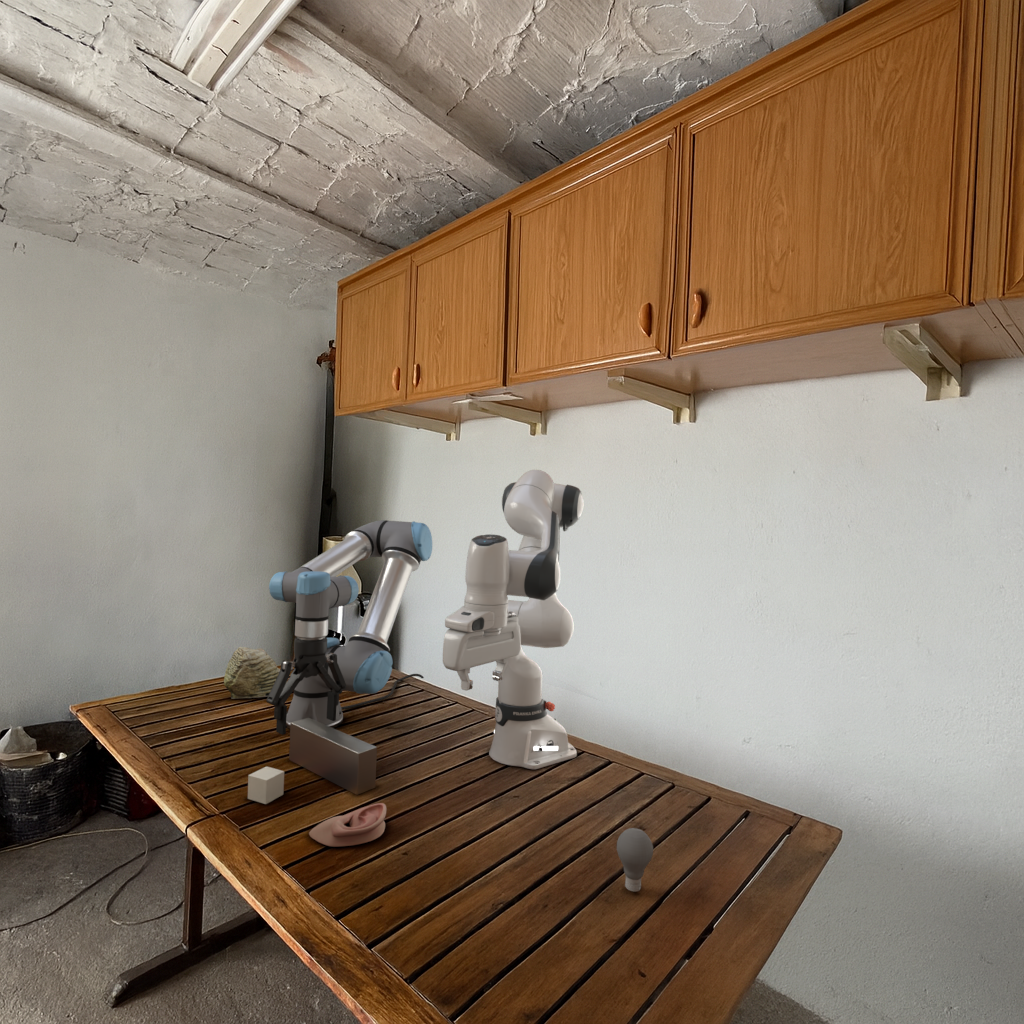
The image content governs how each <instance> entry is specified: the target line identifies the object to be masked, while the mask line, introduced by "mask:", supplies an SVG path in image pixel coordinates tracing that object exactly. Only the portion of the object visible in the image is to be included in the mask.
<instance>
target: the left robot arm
mask: <svg viewBox="0 0 1024 1024" xmlns="http://www.w3.org/2000/svg"><path fill="white" fill-rule="evenodd" d="M432 553H433V535H432V532H431V529H430V527H429V526H428V525H427V524H426V523H424V522H417V521H414V520H413V521H401V520H387V519H382V520H376V521H371V522H368V523H366V524H364V525H361V526H359V527H357V528H355V529H353V530H351V531H350V532H348V533H347V534H346V535H345V536H344V538H343V540H342V541H340V542H338V543H336V544H335V545H334V546H332V547H330V548H328V549H327V550H325V551H324V552H321V554H319V555H317V556H316V557H314V558H313V559H311V560H308V562H306V563H304V564H303V565H302V566H300V567H297V568H296V569H295V570H293V571H290V572H288V571H278V572H276V573H274V574H273V576H272V577H271V578H270V581H269V585H268V590H269V595H270V596H271V598H272V599H274V600H275V601H279V602H283V603H296V604H295V622H294V636H295V638H294V641H293V654H294V655H293V656H294V658H293V660H290V661H289V660H288V661H287V660H282V661H281V663H280V668H279V669H280V672H279V674H278V676H277V678H276V681H275V683H274V685H273V687H272V689H271V691H270V694H269V696H268V697H267V698H266V700H265V701H266V703H267V704H269V705H271V706H274V708H273V709H274V711H273V718H274V720H276V726H275V727H276V728H275V730H276V731H275V732H276V733H277V734H280V735H282V736H283V735H284V736H285V735H286V733H287V729H289V730H290V723H291V722H295V721H298V720H302V719H305V718H311V719H313V720H315V721H318V722H320V723H322V724H325V725H327V726H329V727H332V728H334V729H336V728H337V727H339V726H340V725H342V723H343V722H344V714H343V710H348V709H353V708H357V707H361V706H365V705H368V704H371V703H375V702H379V701H383V700H385V699H387V698H390V697H391V696H392V695H393V694H394V693H395V692H394V691H395V689H396V687H397V684H398V683H399V682H403V681H404V680H406V679H409V678H412V677H419V678H420V679H424V678H425V677H424V676H423V675H422V674H421V673H411V674H408V675H405V676H403V677H400V678H398V679H396V680H395V681H394V683H393V686H392V687H391V690H390V692H389V693H388V694H386V695H383V696H380V697H377V698H373V699H370V700H366V701H361V702H358V703H355V704H350V705H343V706H341V702H340V695H341V694H342V693H343V691H345V692H351V693H357V694H359V695H363V694H366V695H367V694H368V695H373V694H377V693H379V692H380V691H381V690H382V689H383V688H384V687H385V686H386V685H387V684H388V681H389V680H390V677H391V675H392V671H393V664H394V663H393V656H392V655H391V653H390V651H391V648H390V646H389V644H388V641H389V637H390V635H391V632H392V629H393V627H394V623H395V621H396V617H397V614H398V612H399V609H400V607H401V604H402V601H403V598H404V595H405V592H406V590H407V586H408V584H409V582H410V578H411V576H412V572H413V573H414V572H415V571H417V570H418V569H419V568H420V564H421V562H426V561H428V560H430V558H431V556H432ZM369 558H370V559H371V558H381V559H382V561H383V565H382V568H381V571H380V573H379V576H378V579H377V581H376V584H375V586H374V589H373V591H372V594H371V596H370V600H369V602H368V605H367V607H366V610H365V612H364V615H363V617H362V621H361V623H360V626H359V628H358V631H357V633H355V634H353V635H351V636H350V637H349V638H348V641H347V643H346V645H340V644H341V641H340V639H339V638H337V637H328V636H329V635H328V634H329V612H330V609H334V608H339V607H345V606H347V605H349V604H353V602H354V601H356V600H357V598H358V596H359V593H360V592H359V591H360V590H359V584H358V582H357V581H356V579H355V578H353V577H352V576H350V575H340V574H341V573H343V572H344V571H346V570H347V569H349V568H350V567H352V566H353V565H355V564H356V563H357V562H364V561H366V560H367V559H369ZM291 671H292V672H291ZM286 682H287V683H286ZM292 693H293V695H292ZM291 695H292V696H293V697H292V699H291V702H290V704H289V708H288V705H286V702H287V701H288V699H289V698H290V697H291Z"/></svg>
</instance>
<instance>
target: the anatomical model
mask: <svg viewBox="0 0 1024 1024" xmlns="http://www.w3.org/2000/svg"><path fill="white" fill-rule="evenodd" d="M386 816H387V805H386V804H385V803H383V802H378V803H373V804H370V805H368V806H364V807H360V808H358V809H355V810H353V811H351V812H348V813H346V814H344V815H343V814H342V815H337V816H333V817H331V818H328V819H326V820H323V821H322V822H320V823H318V824H317V825H315V826H314V827H313V828H311V830H309V832H308V835H309V837H310V838H311V839H313V840H315V841H316V842H318V843H319V844H321V845H325V846H327V847H333V848H335V847H348V846H349V847H350V846H357V845H361V844H365V843H368V842H372V841H374V840H376V839H378V838H380V837H381V836H382V835H383V834H384V832H385V829H386V822H385V819H386Z"/></svg>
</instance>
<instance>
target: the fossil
mask: <svg viewBox="0 0 1024 1024" xmlns="http://www.w3.org/2000/svg"><path fill="white" fill-rule="evenodd" d="M231 655H232V656H231V658H230V659H229V661H228V663H227V666H226V669H225V673H224V677H223V678H224V679H223V686H224V687H225V688H226V689H227V691H228V692H229V693H230V696H231V697H230V698H231V699H233V700H234V699H235V700H236V699H237V700H238V699H252V698H253V699H255V698H258V699H259V698H266V697H267V698H268V696H269V694H270V691H271V689H272V687H273V685H274V683H275V681H276V678H277V676H278V674H279V672H280V669H281V668H279V667H278V666H277V663H276V661H274V659H273V658H272V657H271V656H270V655H269V654H268V653H267V651H265V649H263V648H255V649H254V648H251V647H247V646H239V647H238V648H237V649H236V650H235V651H233V654H231ZM286 683H287V682H286Z"/></svg>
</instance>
